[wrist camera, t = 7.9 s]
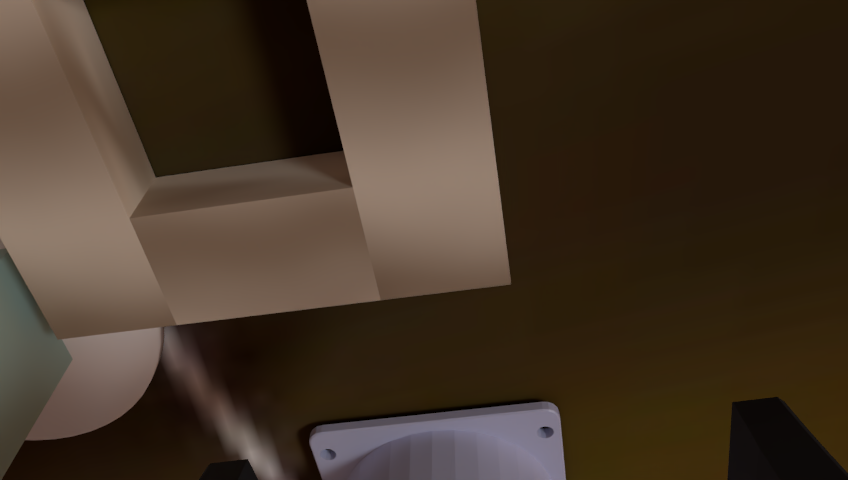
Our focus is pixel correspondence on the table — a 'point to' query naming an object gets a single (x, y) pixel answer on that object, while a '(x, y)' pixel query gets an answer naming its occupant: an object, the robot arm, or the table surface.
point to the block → (24, 361)
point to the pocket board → (250, 179)
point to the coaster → (99, 381)
